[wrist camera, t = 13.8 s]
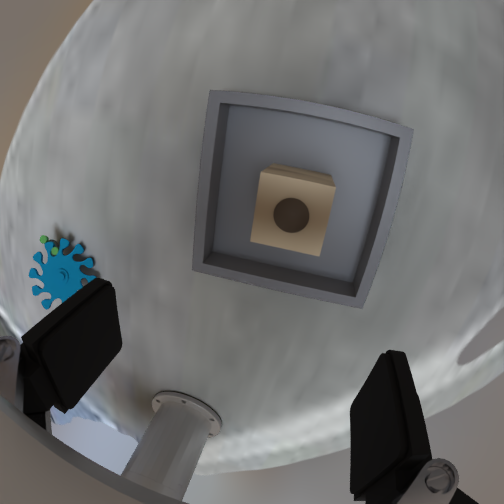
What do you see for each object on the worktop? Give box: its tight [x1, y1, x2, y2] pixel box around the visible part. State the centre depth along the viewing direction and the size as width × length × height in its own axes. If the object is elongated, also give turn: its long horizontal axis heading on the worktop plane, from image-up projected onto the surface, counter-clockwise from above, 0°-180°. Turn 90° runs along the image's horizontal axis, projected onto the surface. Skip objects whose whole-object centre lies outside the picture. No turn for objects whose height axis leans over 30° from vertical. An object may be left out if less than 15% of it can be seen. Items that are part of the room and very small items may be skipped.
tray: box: [192, 90, 414, 309], centre depth 24 cm, size 16×16×4 cm
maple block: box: [250, 163, 336, 256], centre depth 22 cm, size 5×5×6 cm
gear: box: [29, 235, 97, 309], centre depth 33 cm, size 11×6×10 cm
